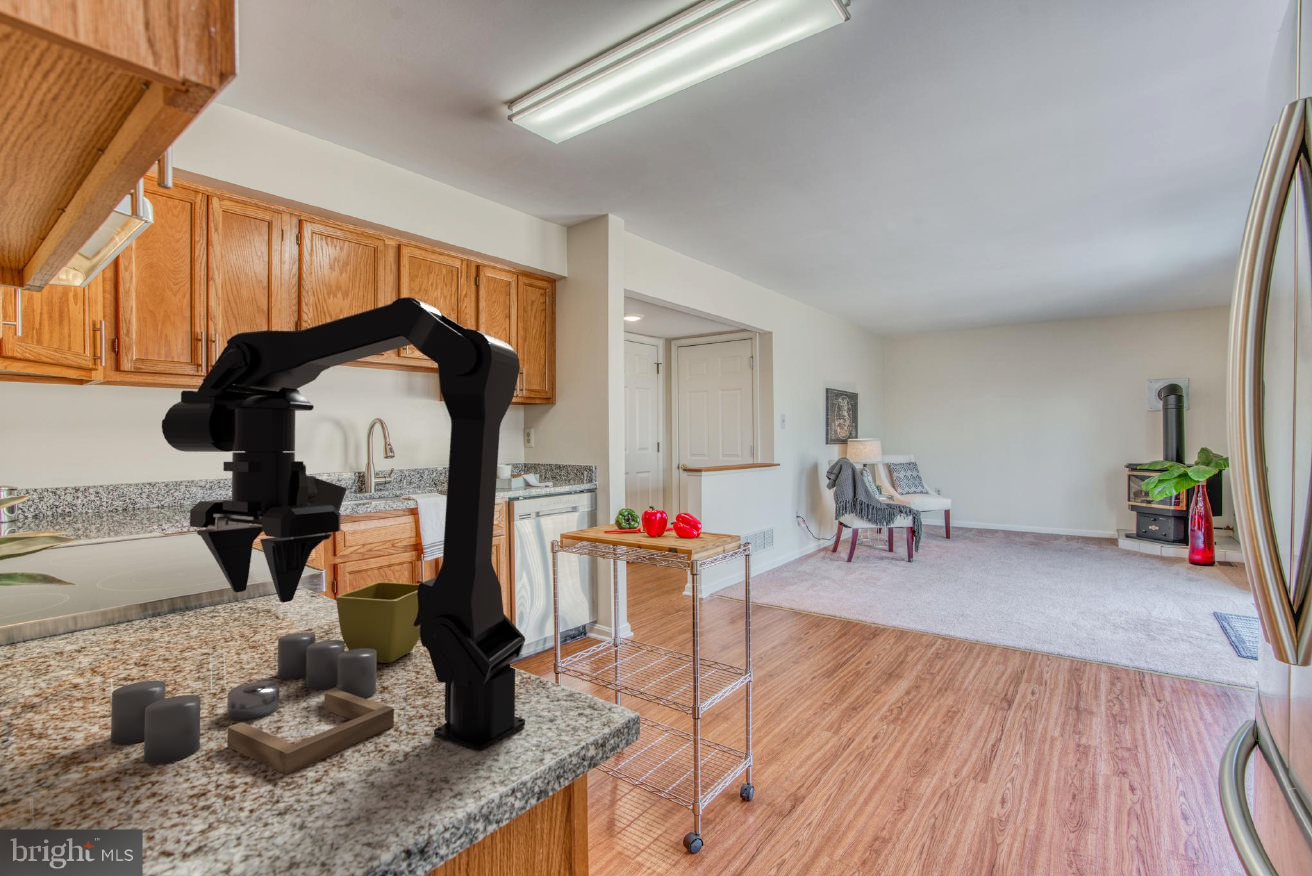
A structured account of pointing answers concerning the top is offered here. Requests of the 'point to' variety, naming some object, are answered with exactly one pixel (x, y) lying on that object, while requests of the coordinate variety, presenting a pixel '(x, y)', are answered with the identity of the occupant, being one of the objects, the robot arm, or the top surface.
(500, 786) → the top surface
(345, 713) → the corral
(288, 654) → the spacers
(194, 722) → the spacers
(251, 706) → the grey metallic short cylinder
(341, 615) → the flower pot
